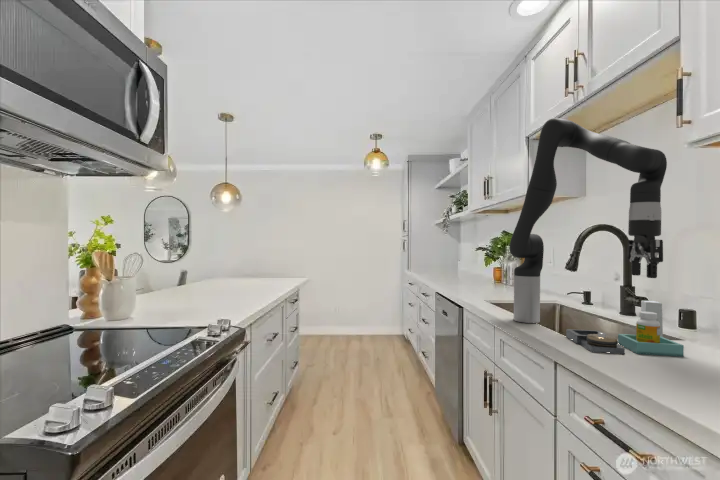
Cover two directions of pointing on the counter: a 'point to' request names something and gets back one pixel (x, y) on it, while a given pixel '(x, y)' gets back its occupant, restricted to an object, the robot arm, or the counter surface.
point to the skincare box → (655, 308)
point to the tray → (651, 346)
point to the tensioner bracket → (595, 341)
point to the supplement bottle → (648, 328)
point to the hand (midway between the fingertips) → (643, 276)
